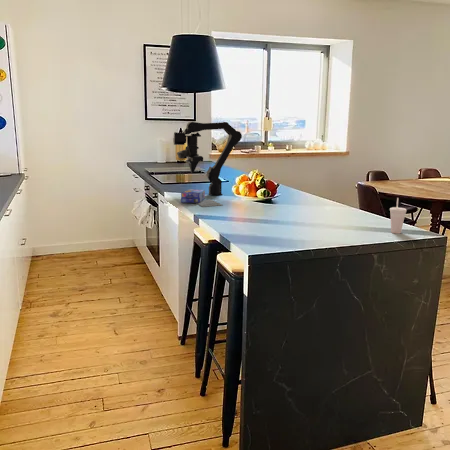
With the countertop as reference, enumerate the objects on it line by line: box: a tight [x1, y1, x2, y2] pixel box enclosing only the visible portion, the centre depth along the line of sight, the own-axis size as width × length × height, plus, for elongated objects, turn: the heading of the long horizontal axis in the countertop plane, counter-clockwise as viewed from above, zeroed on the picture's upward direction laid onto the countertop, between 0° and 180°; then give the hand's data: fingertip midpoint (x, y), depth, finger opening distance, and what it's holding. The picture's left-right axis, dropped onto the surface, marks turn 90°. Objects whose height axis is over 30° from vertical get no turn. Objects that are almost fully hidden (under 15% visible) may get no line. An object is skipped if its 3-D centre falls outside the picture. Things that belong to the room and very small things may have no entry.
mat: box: [195, 199, 224, 208], centre depth 245 cm, size 11×16×1 cm
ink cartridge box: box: [180, 189, 206, 204], centre depth 248 cm, size 10×6×14 cm
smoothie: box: [389, 197, 407, 235], centre depth 188 cm, size 6×6×14 cm
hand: (192, 172), depth 266 cm, fingers closed
